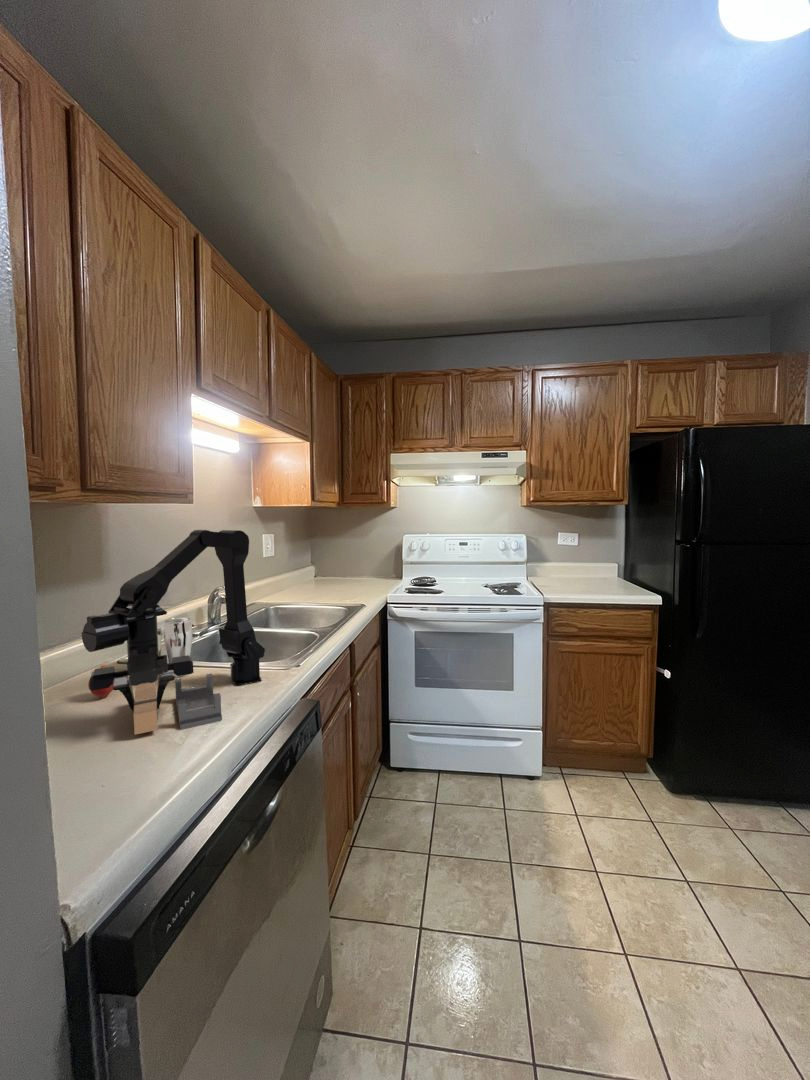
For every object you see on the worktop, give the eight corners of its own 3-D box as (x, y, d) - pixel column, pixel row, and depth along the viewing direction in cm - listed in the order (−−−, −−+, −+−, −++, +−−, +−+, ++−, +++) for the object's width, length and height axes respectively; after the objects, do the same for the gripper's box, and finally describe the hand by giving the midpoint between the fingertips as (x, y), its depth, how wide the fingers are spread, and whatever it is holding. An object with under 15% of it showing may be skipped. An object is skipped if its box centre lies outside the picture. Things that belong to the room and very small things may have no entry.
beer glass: (162, 679, 122) (160, 623, 121) (169, 670, 129) (166, 618, 128) (191, 676, 124) (189, 621, 123) (195, 668, 131) (193, 616, 130)
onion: (101, 703, 106) (99, 670, 106) (83, 700, 108) (81, 667, 108) (123, 694, 112) (122, 662, 111) (106, 691, 114) (104, 660, 113)
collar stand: (211, 692, 113) (210, 672, 112) (222, 720, 97) (221, 697, 97) (175, 698, 109) (174, 678, 108) (180, 729, 93) (179, 705, 93)
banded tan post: (156, 699, 107) (156, 681, 107) (158, 730, 91) (157, 709, 91) (136, 703, 105) (135, 685, 104) (133, 735, 89) (132, 714, 89)
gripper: (84, 656, 85) (89, 737, 86) (194, 641, 94) (197, 715, 95) (91, 642, 95) (95, 715, 96) (189, 629, 104) (192, 696, 105)
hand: (146, 710), depth 98 cm, fingers closed on banded tan post, 4 cm apart
